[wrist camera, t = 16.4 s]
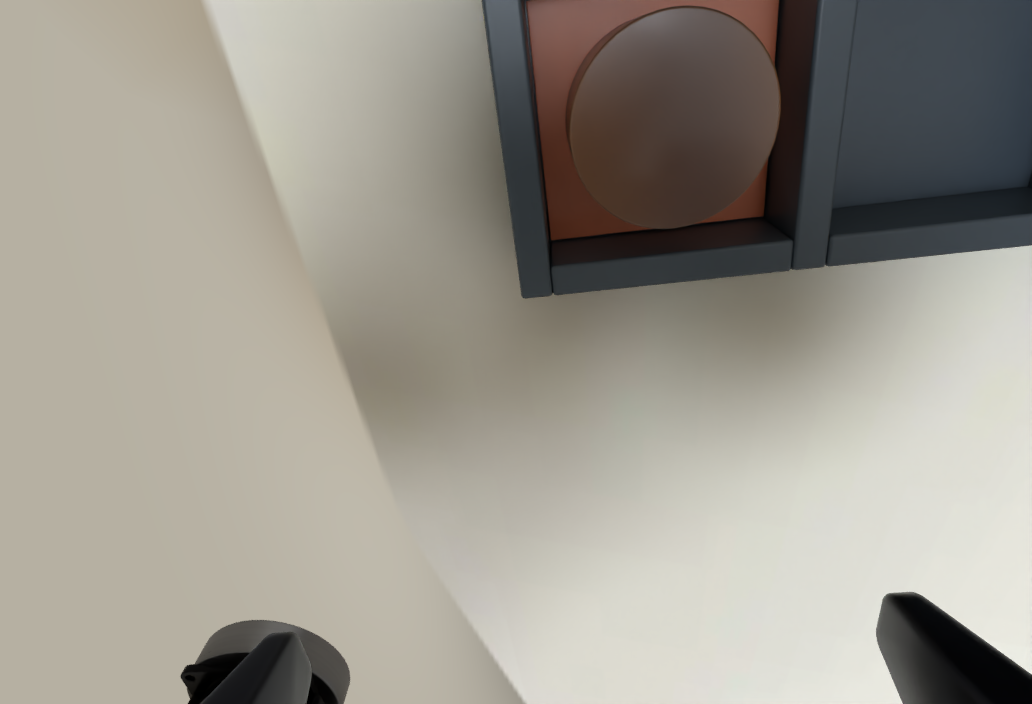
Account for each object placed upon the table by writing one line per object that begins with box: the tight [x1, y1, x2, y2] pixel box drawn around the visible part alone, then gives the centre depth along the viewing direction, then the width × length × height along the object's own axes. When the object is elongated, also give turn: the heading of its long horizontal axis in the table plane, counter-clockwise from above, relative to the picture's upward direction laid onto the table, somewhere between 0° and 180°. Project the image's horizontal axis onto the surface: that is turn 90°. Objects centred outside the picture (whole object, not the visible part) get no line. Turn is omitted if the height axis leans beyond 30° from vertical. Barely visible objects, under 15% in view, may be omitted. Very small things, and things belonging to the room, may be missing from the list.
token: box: [565, 5, 781, 229], centre depth 13 cm, size 4×4×2 cm
